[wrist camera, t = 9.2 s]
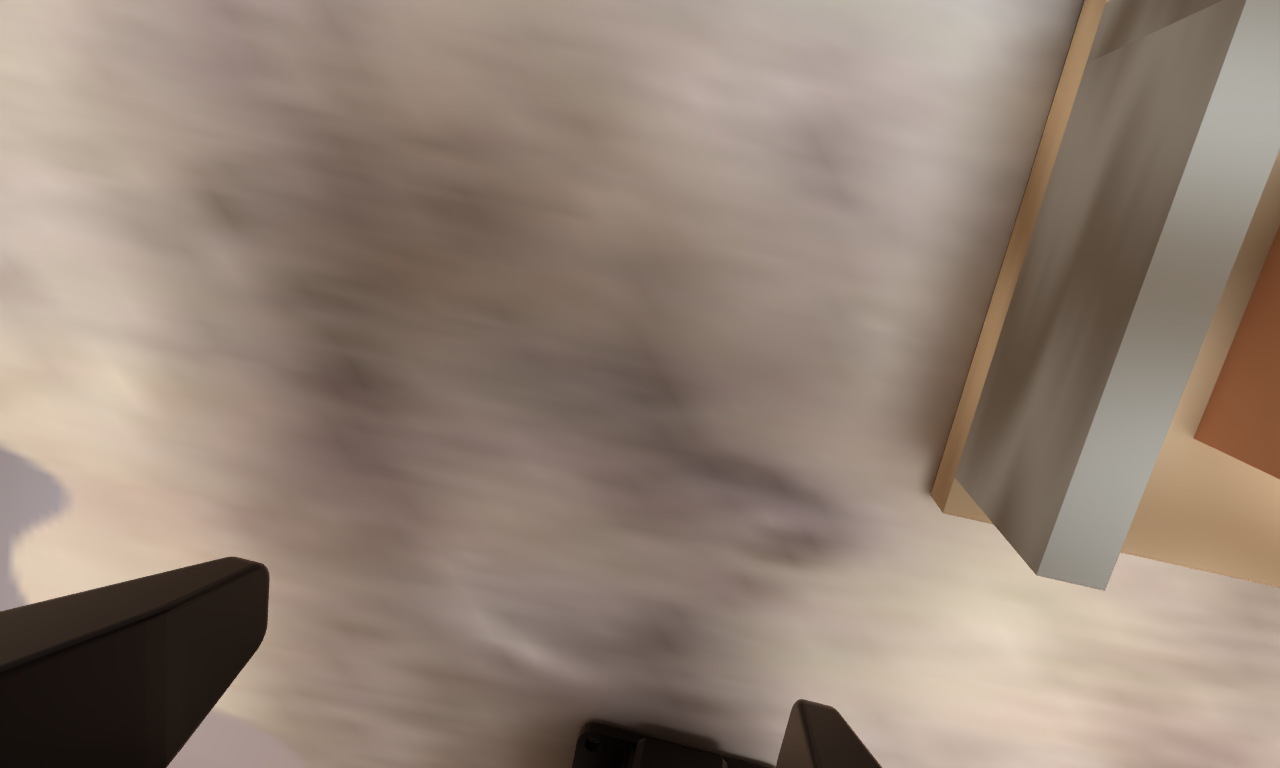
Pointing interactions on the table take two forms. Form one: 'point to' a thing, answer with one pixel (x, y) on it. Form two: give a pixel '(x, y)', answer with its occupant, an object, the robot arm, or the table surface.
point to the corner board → (1130, 303)
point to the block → (1251, 380)
